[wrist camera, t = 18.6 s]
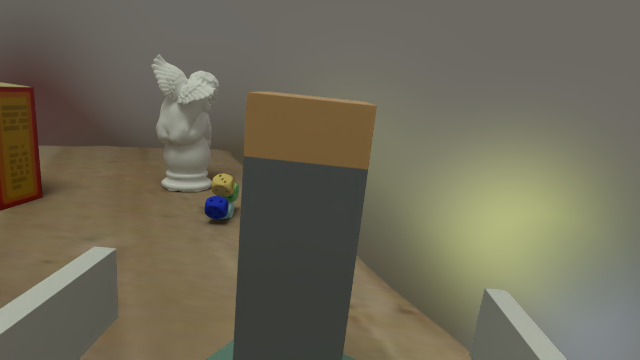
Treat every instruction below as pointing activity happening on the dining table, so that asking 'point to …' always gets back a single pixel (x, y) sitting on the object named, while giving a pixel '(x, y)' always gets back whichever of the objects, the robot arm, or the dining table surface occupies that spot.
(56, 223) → the dining table surface
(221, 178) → the dice
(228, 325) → the dining table surface
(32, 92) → the baking soda box
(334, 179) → the plug
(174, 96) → the cherub figurine
